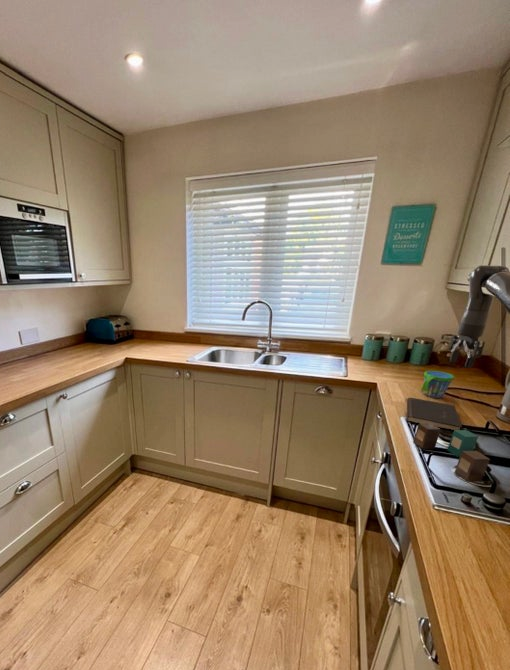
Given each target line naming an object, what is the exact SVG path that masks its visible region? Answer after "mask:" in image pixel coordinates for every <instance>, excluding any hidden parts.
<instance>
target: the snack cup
mask: <svg viewBox="0 0 510 670" xmlns="http://www.w3.org/2000/svg"><path fill="white" fill-rule="evenodd" d="M423 376H424V378H423V384H422V385H421V390H422V394H423V395H424V396H425V397H429V398H433V399H442V398H444V396H445V394H446V393H447V390H448V388H449V386H450V385H451V383H452V381H453V380H454V379H455V376H454V375H453V374H451V373H448V372H444V371H439V370H426V371H425V372H424V373H423Z"/></svg>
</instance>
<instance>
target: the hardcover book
mask: <svg viewBox="0 0 510 670" xmlns="http://www.w3.org/2000/svg"><path fill="white" fill-rule="evenodd" d="M406 421H407V422H408V421H412V422H417V423H431V424H433V425H435V426H436V427H441V428H446V429H451V430H461V428H463V426H462V425H463V424H462V422H461V420H460V417H459V413H458V411H457V408H456V405H455V404H449V403H444V402H438V401H432V400H428V399H427V400H426V399H421V398H415V397H408V398H407V401H406Z"/></svg>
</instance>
